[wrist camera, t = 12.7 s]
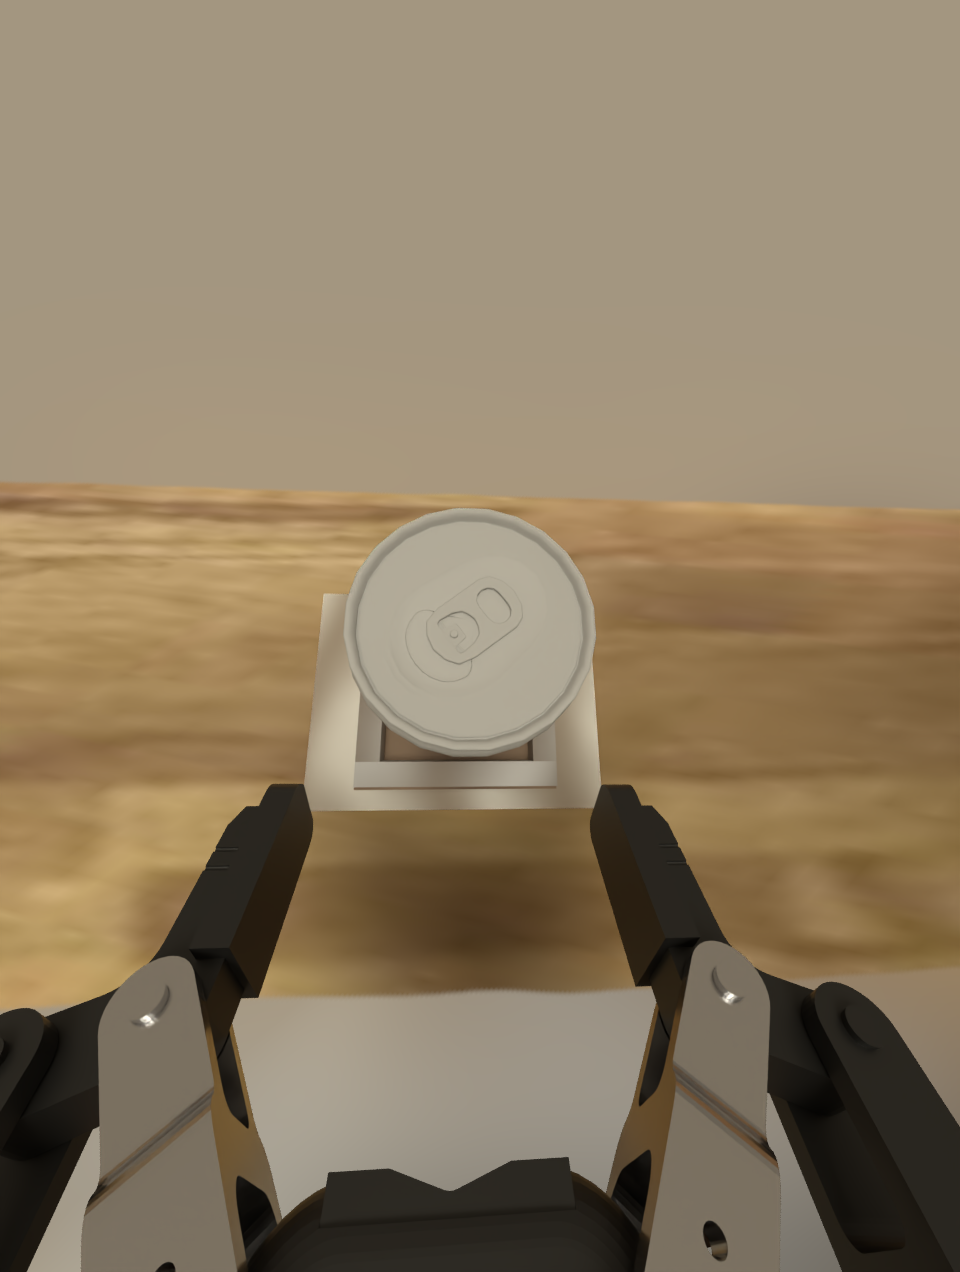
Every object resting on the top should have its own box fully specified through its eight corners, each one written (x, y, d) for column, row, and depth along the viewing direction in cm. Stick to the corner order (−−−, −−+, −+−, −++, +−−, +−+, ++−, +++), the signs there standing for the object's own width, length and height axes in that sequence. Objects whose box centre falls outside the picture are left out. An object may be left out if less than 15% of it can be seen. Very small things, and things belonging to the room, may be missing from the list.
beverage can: (388, 682, 19) (280, 592, 7) (469, 623, 20) (494, 457, 8) (449, 767, 18) (443, 825, 6) (531, 701, 19) (657, 645, 7)
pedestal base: (580, 607, 26) (622, 564, 20) (593, 803, 23) (647, 829, 17) (331, 601, 25) (288, 554, 19) (311, 806, 22) (252, 835, 16)
